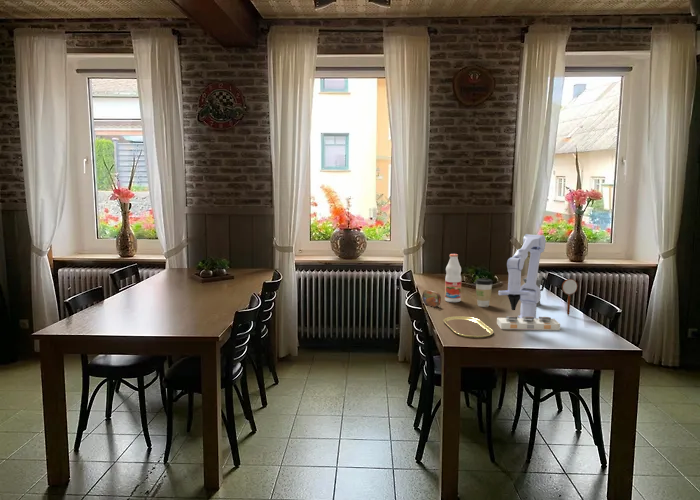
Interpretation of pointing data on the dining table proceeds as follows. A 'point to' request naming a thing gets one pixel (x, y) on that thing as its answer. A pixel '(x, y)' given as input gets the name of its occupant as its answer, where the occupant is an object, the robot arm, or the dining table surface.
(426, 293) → the tin
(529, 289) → the coffeepot
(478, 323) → the serving platter
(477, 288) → the coffee cup
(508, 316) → the rocker
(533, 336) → the dining table surface
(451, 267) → the fruit juice
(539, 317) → the rocker
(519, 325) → the switch panel
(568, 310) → the magnifying glass
